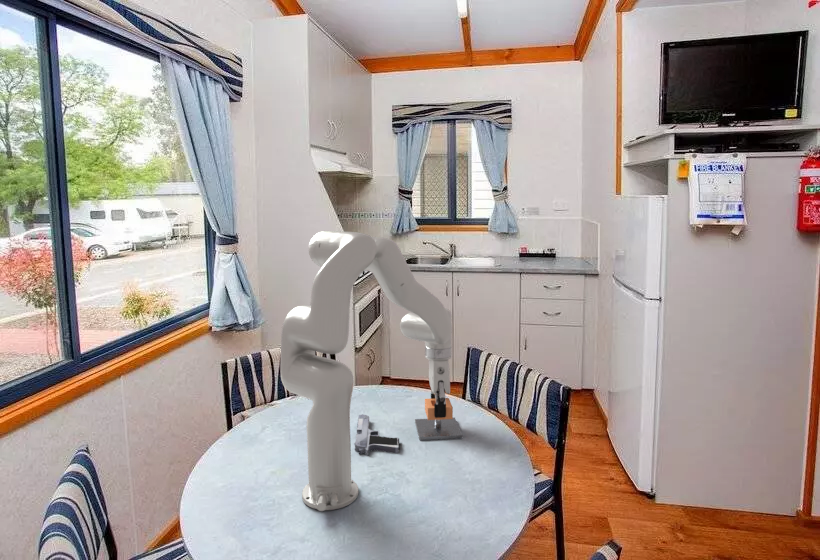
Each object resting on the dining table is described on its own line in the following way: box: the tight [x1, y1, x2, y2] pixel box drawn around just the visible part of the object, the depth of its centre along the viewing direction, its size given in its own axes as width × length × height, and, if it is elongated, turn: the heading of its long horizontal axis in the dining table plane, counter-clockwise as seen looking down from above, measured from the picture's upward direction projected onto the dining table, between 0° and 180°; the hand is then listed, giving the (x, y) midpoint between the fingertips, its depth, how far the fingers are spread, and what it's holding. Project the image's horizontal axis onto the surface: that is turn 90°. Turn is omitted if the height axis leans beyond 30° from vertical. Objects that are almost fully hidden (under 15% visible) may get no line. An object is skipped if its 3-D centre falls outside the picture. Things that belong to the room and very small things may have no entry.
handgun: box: [353, 414, 401, 457], centre depth 149 cm, size 2×22×12 cm
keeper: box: [414, 417, 463, 441], centre depth 153 cm, size 12×12×6 cm
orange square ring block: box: [424, 397, 454, 420], centre depth 152 cm, size 7×7×4 cm
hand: (438, 411), depth 152 cm, fingers closed on orange square ring block, 7 cm apart
